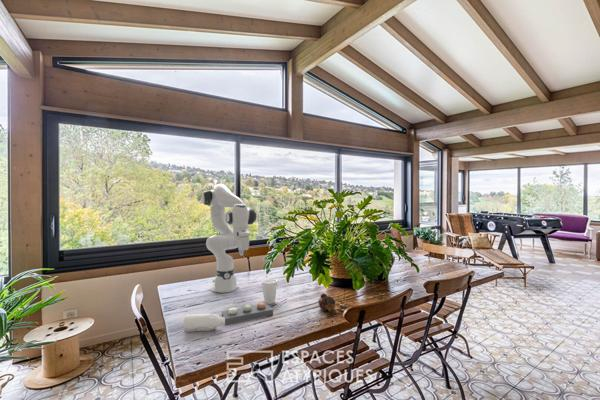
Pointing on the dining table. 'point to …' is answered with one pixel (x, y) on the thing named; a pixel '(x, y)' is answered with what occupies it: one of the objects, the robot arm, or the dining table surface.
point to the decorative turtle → (326, 303)
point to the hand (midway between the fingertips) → (241, 255)
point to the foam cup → (269, 290)
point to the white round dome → (232, 310)
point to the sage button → (247, 308)
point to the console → (247, 314)
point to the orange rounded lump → (261, 305)
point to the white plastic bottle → (202, 322)
